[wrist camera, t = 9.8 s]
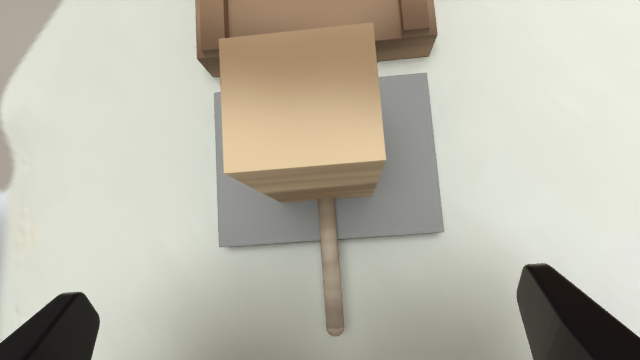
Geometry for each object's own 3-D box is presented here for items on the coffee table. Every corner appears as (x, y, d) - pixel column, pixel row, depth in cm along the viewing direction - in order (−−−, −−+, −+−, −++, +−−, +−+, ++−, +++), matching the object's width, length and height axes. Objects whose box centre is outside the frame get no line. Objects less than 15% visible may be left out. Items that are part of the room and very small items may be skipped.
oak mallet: (384, 331, 20) (409, 410, 11) (289, 336, 20) (233, 418, 11) (365, 117, 22) (373, 22, 12) (276, 125, 22) (218, 38, 13)
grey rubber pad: (438, 232, 22) (444, 231, 21) (227, 246, 23) (219, 247, 21) (422, 83, 23) (426, 72, 22) (222, 101, 24) (213, 92, 22)
